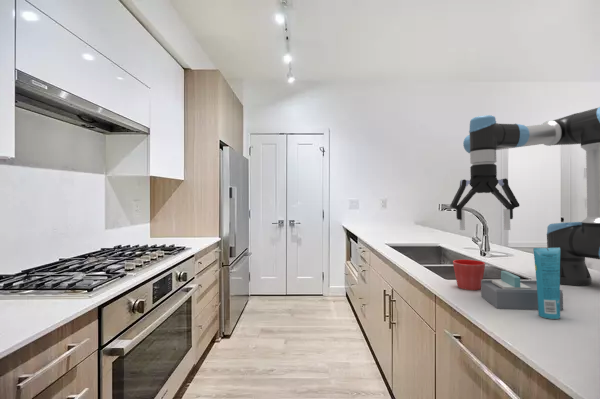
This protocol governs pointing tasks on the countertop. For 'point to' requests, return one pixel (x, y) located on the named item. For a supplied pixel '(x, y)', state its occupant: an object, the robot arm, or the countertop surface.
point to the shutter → (510, 281)
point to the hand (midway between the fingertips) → (484, 229)
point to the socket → (513, 296)
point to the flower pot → (469, 273)
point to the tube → (548, 281)
